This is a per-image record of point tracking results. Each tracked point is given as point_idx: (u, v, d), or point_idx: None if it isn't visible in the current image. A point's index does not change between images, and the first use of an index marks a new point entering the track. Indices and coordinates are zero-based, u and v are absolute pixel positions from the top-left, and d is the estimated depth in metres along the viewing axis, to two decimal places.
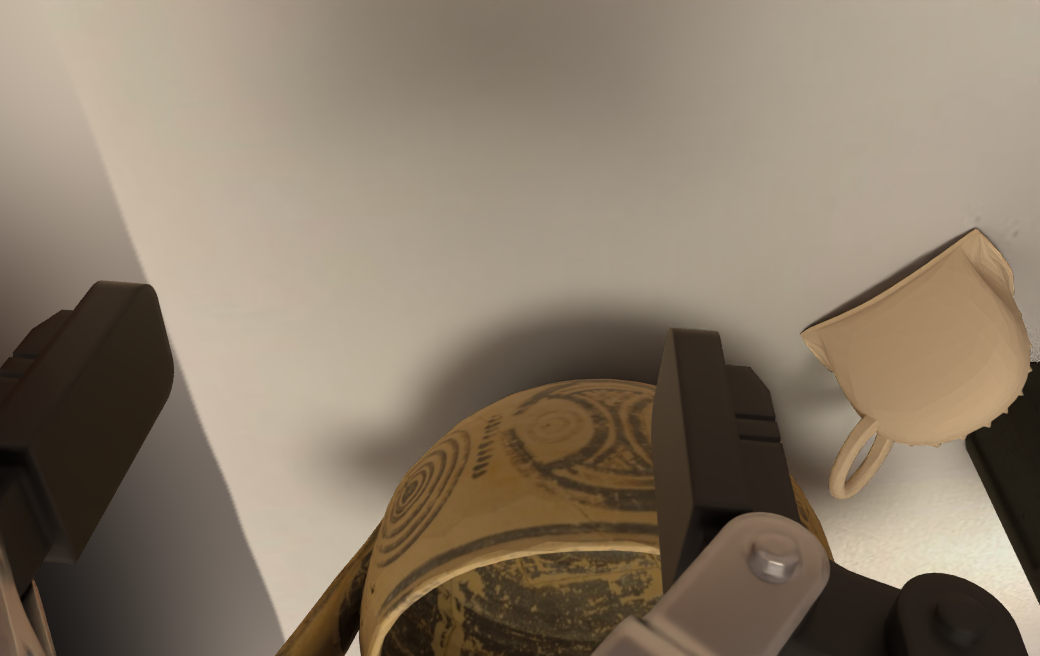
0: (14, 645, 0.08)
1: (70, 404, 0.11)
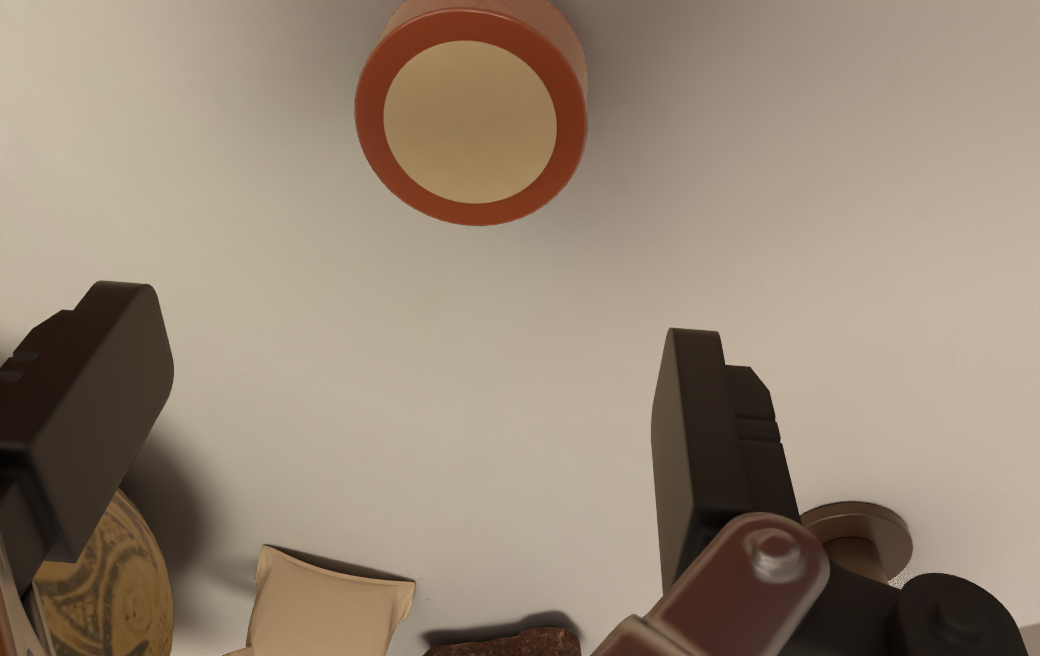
0: (14, 645, 0.08)
1: (70, 404, 0.11)
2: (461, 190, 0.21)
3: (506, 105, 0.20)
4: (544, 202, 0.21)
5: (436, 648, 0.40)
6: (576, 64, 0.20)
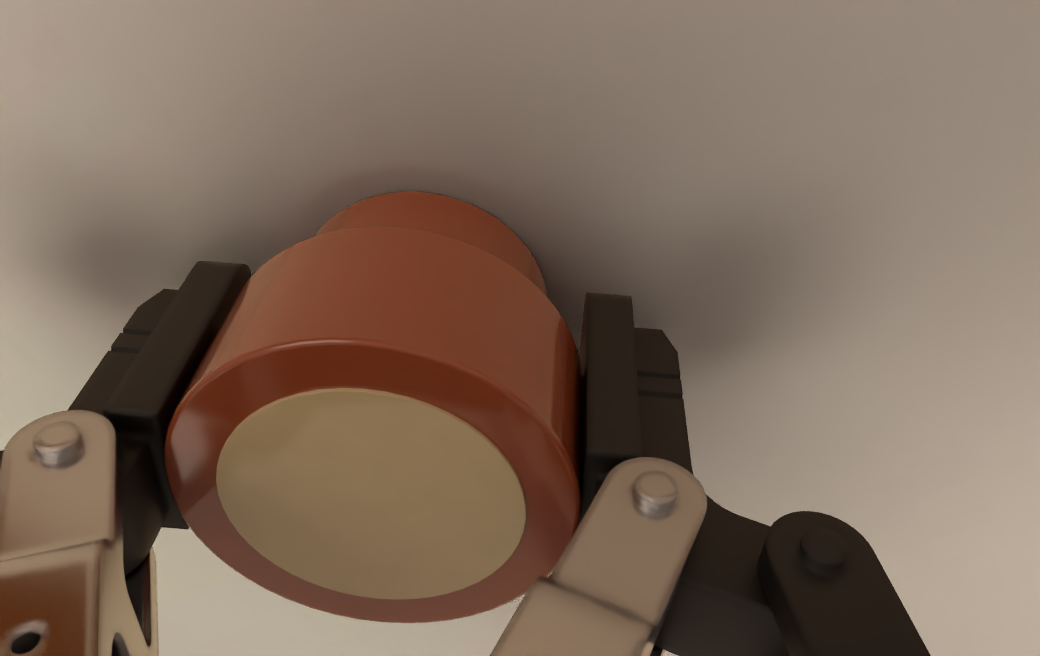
0: (97, 631, 0.08)
1: (188, 376, 0.12)
2: (366, 580, 0.12)
3: (434, 476, 0.11)
4: (508, 600, 0.12)
5: None
6: (561, 401, 0.11)
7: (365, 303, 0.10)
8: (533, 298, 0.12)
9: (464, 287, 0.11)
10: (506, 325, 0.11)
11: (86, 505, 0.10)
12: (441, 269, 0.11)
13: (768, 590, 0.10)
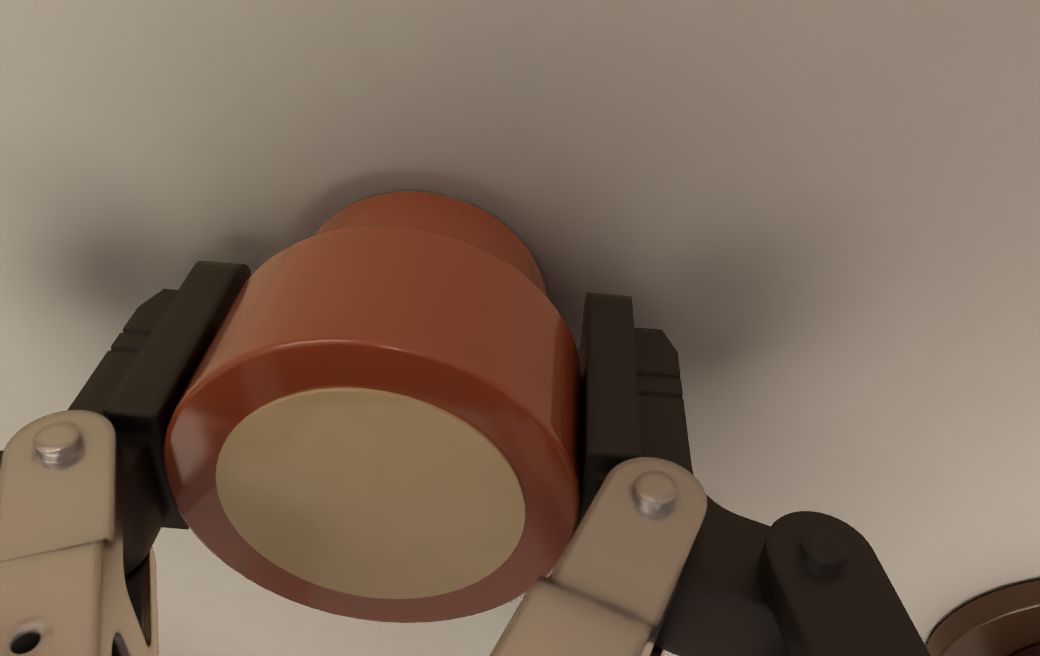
0: (98, 631, 0.08)
1: (187, 376, 0.12)
2: (365, 579, 0.12)
3: (434, 476, 0.11)
4: (507, 600, 0.12)
5: None
6: (560, 401, 0.11)
7: (365, 303, 0.10)
8: (533, 298, 0.12)
9: (464, 286, 0.11)
10: (506, 324, 0.11)
11: (86, 505, 0.10)
12: (440, 269, 0.11)
13: (768, 590, 0.10)
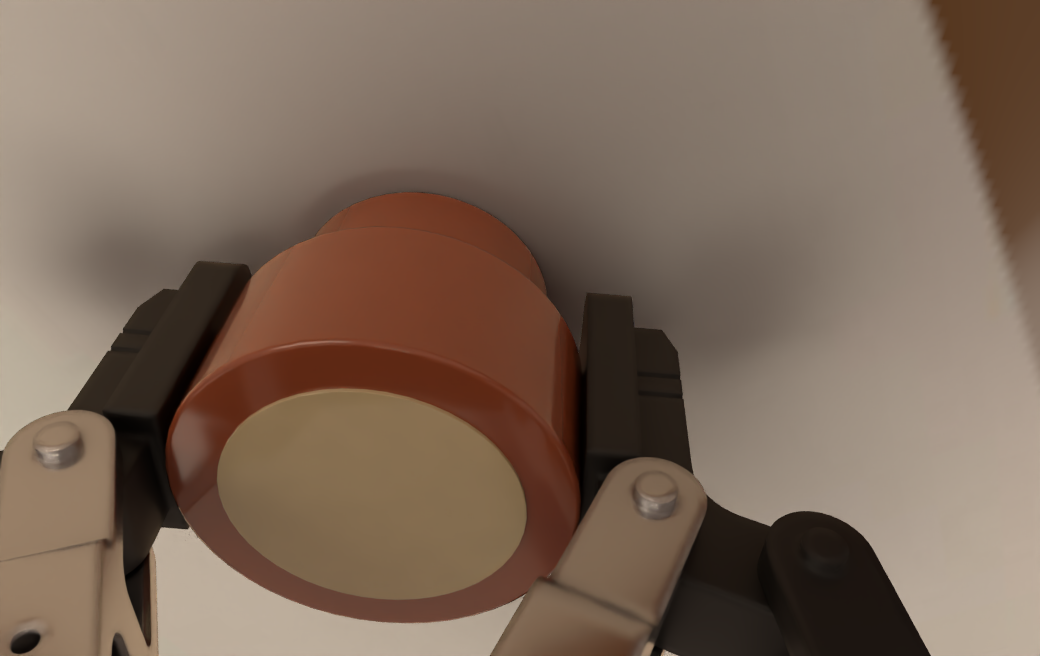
0: (97, 631, 0.08)
1: (187, 376, 0.12)
2: (366, 580, 0.12)
3: (435, 477, 0.11)
4: (508, 600, 0.12)
5: None
6: (561, 402, 0.11)
7: (367, 303, 0.10)
8: (534, 299, 0.12)
9: (465, 288, 0.11)
10: (507, 325, 0.11)
11: (86, 505, 0.10)
12: (442, 270, 0.11)
13: (768, 590, 0.10)
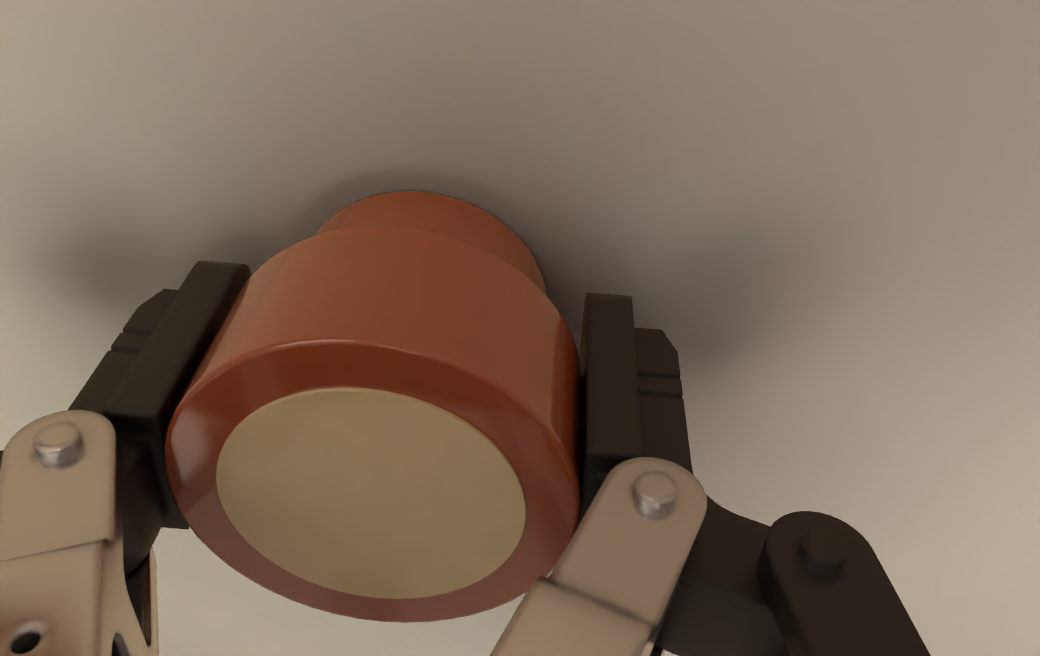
0: (98, 631, 0.08)
1: (187, 376, 0.12)
2: (365, 579, 0.12)
3: (434, 475, 0.11)
4: (508, 599, 0.12)
5: None
6: (560, 400, 0.11)
7: (366, 302, 0.10)
8: (533, 297, 0.12)
9: (464, 286, 0.11)
10: (506, 324, 0.11)
11: (86, 505, 0.10)
12: (441, 269, 0.11)
13: (768, 590, 0.10)
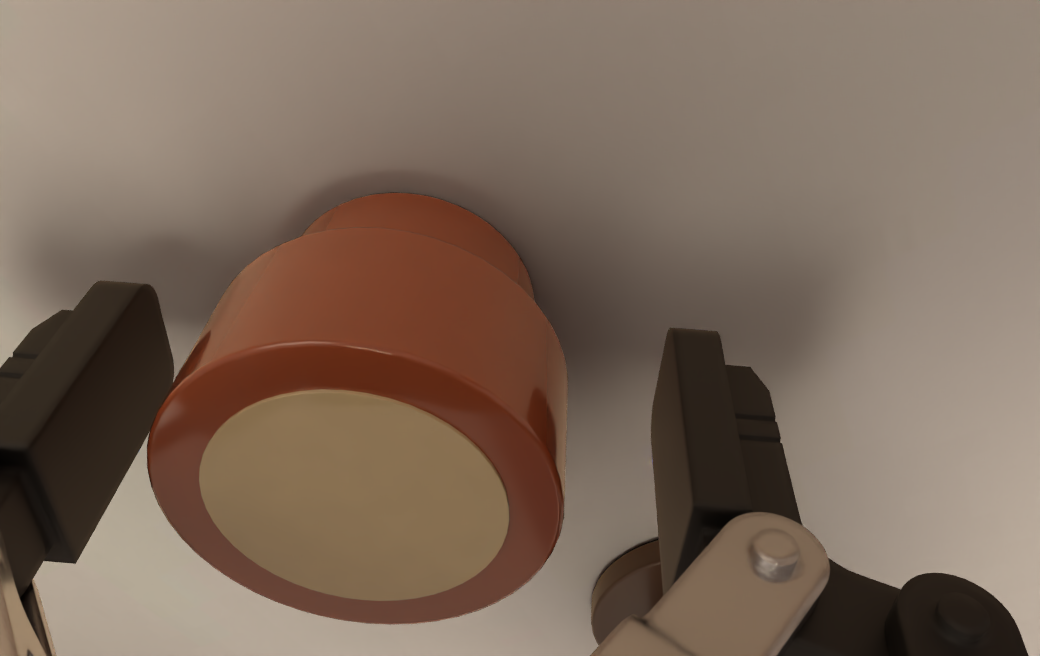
0: (14, 645, 0.08)
1: (70, 404, 0.11)
2: (350, 581, 0.12)
3: (418, 479, 0.11)
4: (493, 600, 0.12)
5: None
6: (544, 402, 0.11)
7: (347, 304, 0.10)
8: (517, 299, 0.12)
9: (447, 288, 0.11)
10: (489, 326, 0.11)
11: None
12: (424, 271, 0.11)
13: None
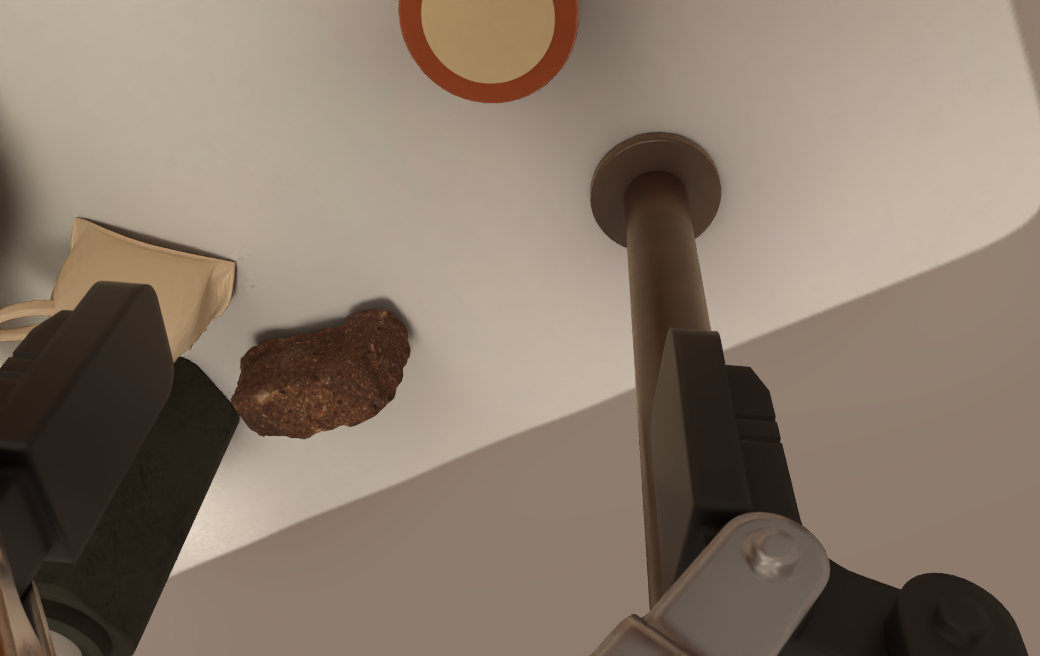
0: (14, 645, 0.08)
1: (70, 404, 0.11)
2: (480, 73, 0.27)
3: (516, 1, 0.26)
4: (545, 82, 0.27)
5: (263, 341, 0.39)
6: None
7: None
8: None
9: None
10: None
11: None
12: None
13: None
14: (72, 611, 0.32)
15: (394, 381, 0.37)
